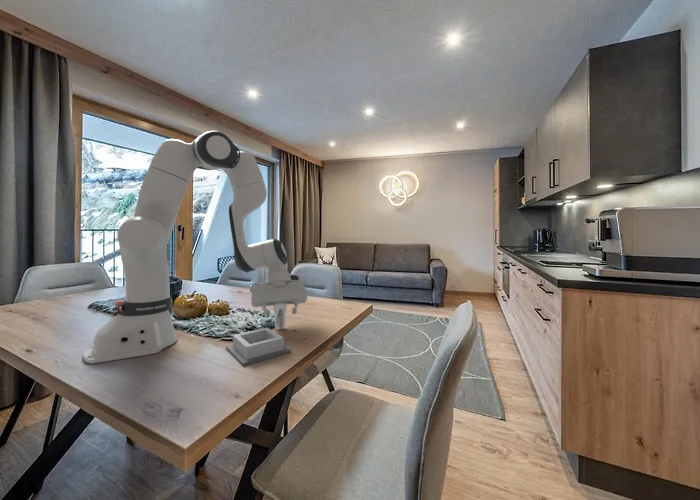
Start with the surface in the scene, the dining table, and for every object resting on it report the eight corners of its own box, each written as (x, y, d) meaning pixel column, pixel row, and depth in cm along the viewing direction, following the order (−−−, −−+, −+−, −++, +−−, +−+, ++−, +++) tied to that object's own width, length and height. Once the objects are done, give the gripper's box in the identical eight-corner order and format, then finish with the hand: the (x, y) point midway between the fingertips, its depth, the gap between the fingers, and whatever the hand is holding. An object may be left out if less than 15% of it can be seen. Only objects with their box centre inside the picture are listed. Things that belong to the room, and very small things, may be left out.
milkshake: (285, 331, 103) (285, 303, 103) (271, 330, 104) (271, 302, 104) (290, 327, 108) (290, 300, 107) (277, 326, 109) (276, 299, 108)
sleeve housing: (243, 366, 77) (242, 350, 77) (226, 348, 88) (225, 334, 88) (290, 352, 86) (290, 338, 86) (270, 338, 97) (270, 325, 97)
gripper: (249, 278, 108) (250, 312, 99) (305, 276, 115) (310, 307, 106) (249, 288, 112) (250, 321, 104) (302, 285, 119) (307, 316, 111)
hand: (281, 314), depth 105 cm, fingers open, 8 cm apart
